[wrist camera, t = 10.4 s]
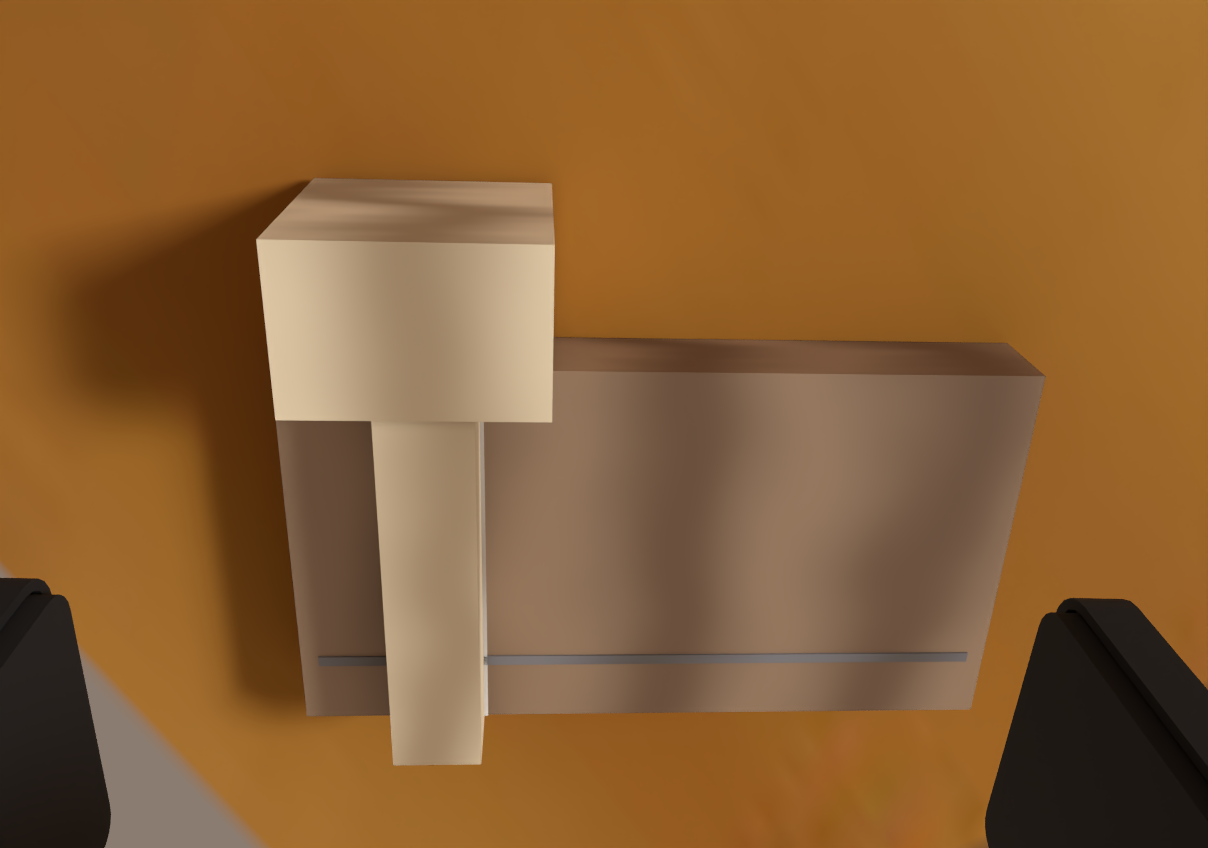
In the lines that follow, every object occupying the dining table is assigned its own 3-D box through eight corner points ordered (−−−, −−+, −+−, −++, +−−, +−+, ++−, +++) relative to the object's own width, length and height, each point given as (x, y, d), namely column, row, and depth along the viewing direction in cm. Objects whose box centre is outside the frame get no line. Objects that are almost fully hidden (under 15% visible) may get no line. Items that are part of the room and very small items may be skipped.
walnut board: (322, 662, 33) (306, 717, 31) (291, 333, 29) (269, 368, 26) (942, 658, 34) (971, 710, 32) (1007, 343, 30) (1046, 377, 28)
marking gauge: (353, 663, 33) (316, 807, 27) (314, 177, 27) (255, 239, 21) (545, 662, 33) (546, 803, 28) (551, 183, 27) (554, 245, 22)
